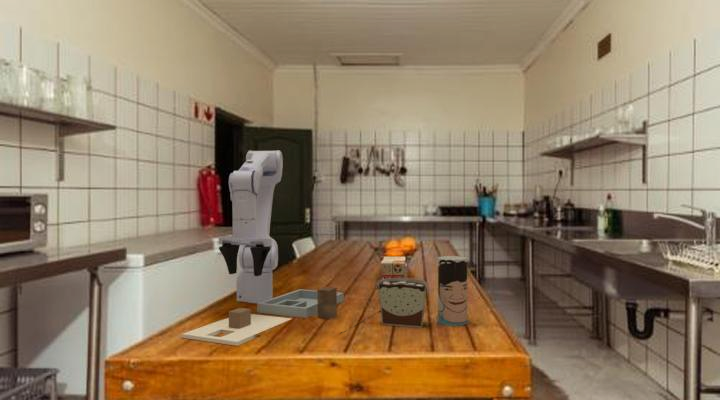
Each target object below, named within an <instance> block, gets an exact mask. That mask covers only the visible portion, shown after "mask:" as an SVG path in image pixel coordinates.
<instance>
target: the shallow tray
mask: <svg viewBox="0 0 720 400" xmlns="http://www.w3.org/2000/svg"><path fill="white" fill-rule="evenodd" d="M344 301H345V293H344V292H337V305H338V304H340V303H344ZM256 306H257V307H256V310H257V311H256V312H257V313H258V314H265V315H267V314H268V315H276V316H282V317H283V316H284V317H291V318H292V317H293V318H294V317H295V318H303V319H308V318H309V317H312V316H314V315H316V314H318V298H317V290H315V289H314V290H313V289H303V288H302V289H301V288H299V289H297V290H293V291H291V292H290V291H289V292H287V293H284V294H282V295H279V296H276V297H273V298H272V299H269V300H266V301H263V302H260V303H256ZM257 313H256V314H257Z"/></svg>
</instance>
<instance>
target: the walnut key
mask: <svg viewBox="0 0 720 400" xmlns="http://www.w3.org/2000/svg"><path fill="white" fill-rule="evenodd" d="M316 291H317V298H318V313H317V319H322V320H323V319H325V320H330V319H332V318H334V317H336V316H337V315H338V309H337V307H338V306H337V305H338V304H337V287H331V286H324V287H321V288H319V289H317V290H316Z"/></svg>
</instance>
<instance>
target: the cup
mask: <svg viewBox="0 0 720 400" xmlns="http://www.w3.org/2000/svg"><path fill="white" fill-rule="evenodd" d="M437 266H438V267H437V277H438V278H437V285H438V287H437V290H438V292H437V293H438V295H437V297H438V299H437V301H438V305H437V306H438V307H437V308H438V309H437V310H438V311H437V312H438V324H441V325H445V326H455V327H457V326H464V325H466V324H468V257H465V256H457V255H446V256H445V255H444V256H438V258H437Z"/></svg>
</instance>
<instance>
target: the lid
mask: <svg viewBox="0 0 720 400" xmlns="http://www.w3.org/2000/svg"><path fill="white" fill-rule="evenodd" d="M251 311H252V309H251V308H245V307H243V308H242V307H239V308H236V309H233V310H229V311H228V317H226V318H224V319H219V320H218V321H214V322H212V323H209V324H206V325H203V326H201V327H198V328H194V329H191V330H190V331H186V332H183V333H181V338H182V339H188V340H194V341H202V342H208V343H209V342H210V343H216V344H223V345H228V346H229V345H230V346H235V347H238V346H240V345H242V344H245V343H247V342H250V341H251V340H255V339H256V338H258V337H260V336H262V335H261V334H260V333H262V332H264V331H267V330H269V329H272V328H274V327H276V326H279V325H281V324H283V323H285V322H288V321H290V320H292V317H283V316H281V317H280V316H273V315H272V316H271V315H266V314H265V315H263V314H257V313H256V314H255V313H251ZM219 334H225V335H223V336H216V335H219ZM258 334H260V335H258Z"/></svg>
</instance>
